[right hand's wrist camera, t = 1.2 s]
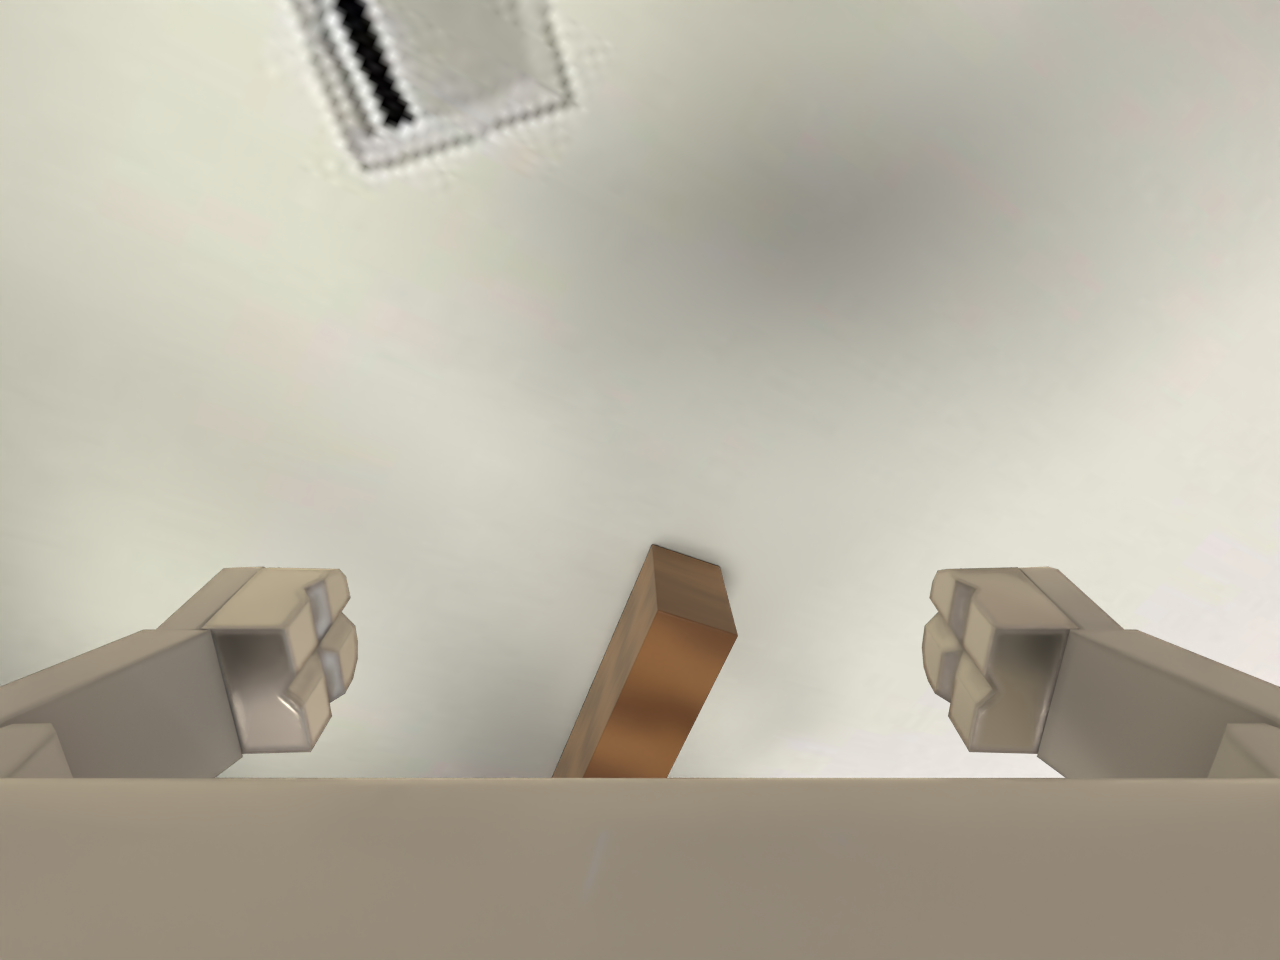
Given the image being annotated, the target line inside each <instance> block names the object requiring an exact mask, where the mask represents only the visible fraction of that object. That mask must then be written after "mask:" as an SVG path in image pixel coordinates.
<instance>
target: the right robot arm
mask: <svg viewBox="0 0 1280 960" xmlns="http://www.w3.org/2000/svg"><path fill="white" fill-rule="evenodd" d="M349 599H350V593H349V588H348V583H347V579H346V576H345V575H344V574H343V572H342V571H341V570H340V569H320V568H265V567H236V568H224V569H222V570H221V571H220V572H219V573H218V574H217V575H216V576H214V577H213V578H212V579H211V580H210V581H209V582H208V583H207V584H206V585H205V586H203V587H202V588H201V589H200V590H199V591H198V592H197V593H196V594H195V595H193V596H192V597H191V598H190V599H189V600H188V601H187V602H186V603H185V604H184V605H182V606H181V607H180V608H179V609H178V610H177V611H176V612H175V613H174V614H172V615H171V616H170V617H169V618H168V619H167V620H166V621H165V622H164V623H162V624H161V625H160V626H159V627H158V628H157V629H156V630H141V631H139V632H136V633H134V634H131V635H129V636H126V637H124V638H121V639H119V640H116V641H114V642H111V643H109V644H106V645H104V646H101V647H99V648H96V649H94V650H91V651H89V652H86V653H84V654H81V655H79V656H76V657H74V658H71V659H69V660H66V661H64V662H61V663H59V664H56V665H54V666H51V667H49V668H46V669H44V670H41V671H39V672H36V673H34V674H31V675H29V676H26V677H24V678H21V679H19V680H16V681H14V682H11V683H9V684H6V685H4V686H1V687H0V960H1280V687H1279V686H1276V685H1274V684H1271V683H1269V682H1266V681H1264V680H1261V679H1259V678H1256V677H1254V676H1251V675H1249V674H1246V673H1244V672H1241V671H1239V670H1236V669H1234V668H1231V667H1229V666H1226V665H1224V664H1221V663H1219V662H1216V661H1214V660H1211V659H1209V658H1206V657H1204V656H1201V655H1199V654H1196V653H1194V652H1191V651H1189V650H1186V649H1184V648H1181V647H1179V646H1176V645H1174V644H1171V643H1169V642H1166V641H1164V640H1161V639H1159V638H1156V637H1154V636H1151V635H1149V634H1146V633H1144V632H1141V631H1139V630H1124V629H1123V628H1122V627H1121V626H1120V625H1119V624H1118V623H1116V622H1115V621H1114V620H1113V619H1112V618H1111V617H1110V616H1109V615H1108V614H1107V613H1105V612H1104V611H1103V610H1102V609H1101V608H1100V607H1099V606H1098V605H1097V604H1096V603H1094V602H1093V601H1092V600H1091V599H1090V598H1089V597H1088V596H1087V595H1086V594H1085V593H1083V592H1082V591H1081V590H1080V589H1079V588H1078V587H1077V586H1076V585H1075V584H1073V583H1072V582H1071V581H1070V580H1069V579H1068V578H1067V577H1066V576H1065V575H1064V574H1062V573H1061V572H1060V571H1059V570H1058V569H1055V568H1051V567H1027V568H1018V567H1010V568H968V569H944V570H938V571H937V573H936V575H935V577H934V579H933V582H932V587H931V592H930V599H931V601H932V603H933V604H934V606H935V607H936V609H937V610H938V613H937V614H936V615H935V616H934V617H933V618H932V619H931V620H930V621H929V622H928V623H927V624H926V625H925V627H924V635H923V642H922V654H923V665H924V670H925V673H926V676H927V679H928V682H929V683H930V685H931V687H932V689H933V691H934V693H935V694H937V695H938V696H940V697H942V698H943V699H945V700H946V701H948V702H950V709H949V714H948V717H949V718H950V720H951V722H952V723H953V725H954V727H955V729H956V730H957V732H958V734H959V735H960V737H961V739H962V740H963V742H964V744H965V745H966V747H967V749H968V750H969V752H991V753H1028V754H1038V755H1037V757H1038V758H1040V759H1041V760H1042V761H1044V762H1045V763H1046V764H1048V765H1049V766H1050V767H1052V768H1053V769H1054V770H1056V771H1057V772H1059V773H1060V774H1061V775H1063V776H1064V777H1065V778H215V777H216V776H218V775H219V774H220V773H222V772H223V771H224V770H226V769H227V768H228V767H230V766H231V765H233V764H234V763H235V762H237V761H238V760H239V759H241V758H242V757H243V755H242V754H252V753H288V752H311V751H312V749H313V747H314V746H315V744H316V742H317V740H318V739H319V737H320V735H321V734H322V732H323V730H324V729H325V727H326V725H327V723H328V722H329V720H330V718H331V717H332V714H331V709H330V702H332V701H334V700H335V699H337V698H338V697H340V696H342V695H343V694H345V692H346V691H347V689H348V687H349V685H350V683H351V681H352V680H353V676H354V672H355V668H356V664H357V659H358V640H357V633H356V627H355V625H354V624H353V623H352V622H351V621H350V620H349V619H348V618H347V617H346V616H345V615H344V614H343V613H342V610H343V609H344V607H345V606H346V604H347V603H348V601H349Z"/></svg>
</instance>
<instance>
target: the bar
mask: <svg viewBox="0 0 1280 960" xmlns="http://www.w3.org/2000/svg"><path fill="white" fill-rule="evenodd" d="M737 636H738V634H737V631H736V627H735V623H734V619H733V615H732V612H731V608H730V604H729V600H728V596H727V592H726V589H725V585H724V581H723V577H722V573H721V569H720V567H719V566H716V565H713V564H710V563H707V562H704V561H701V560H698V559H695V558H692V557H689V556H686V555H683V554H680V553H677V552H674V551H671V550H668V549H665V548H662V547H659V546H656V545H652V546H651V548H650V550H649V553H648V555H647V557H646V560H645V562H644V564H643V567H642V569H641V571H640V574H639V576H638V578H637V581H636V583H635V585H634V588H633V590H632V592H631V595H630V597H629V599H628V602H627V604H626V606H625V609H624V611H623V613H622V616H621V618H620V620H619V623H618V625H617V627H616V630H615V632H614V634H613V637H612V639H611V641H610V644H609V646H608V648H607V651H606V653H605V655H604V658H603V660H602V662H601V665H600V667H599V669H598V672H597V674H596V676H595V679H594V681H593V683H592V686H591V688H590V690H589V693H588V695H587V697H586V700H585V702H584V704H583V707H582V709H581V711H580V714H579V716H578V718H577V721H576V723H575V725H574V728H573V730H572V732H571V735H570V737H569V739H568V742H567V744H566V746H565V748H564V751H563V753H562V755H561V758H560V760H559V762H558V765H557V767H556V769H555V772H554V774H553V776H552V778H667V776H668V774H669V772H670V770H671V768H672V766H673V764H674V762H675V760H676V758H677V756H678V754H679V752H680V750H681V748H682V746H683V744H684V742H685V740H686V738H687V736H688V734H689V732H690V730H691V728H692V726H693V724H694V722H695V720H696V718H697V716H698V714H699V712H700V710H701V708H702V706H703V704H704V702H705V700H706V698H707V696H708V694H709V692H710V690H711V688H712V686H713V684H714V682H715V680H716V678H717V676H718V674H719V672H720V670H721V668H722V666H723V664H724V662H725V660H726V658H727V656H728V654H729V652H730V650H731V648H732V646H733V644H734V642H735V640H736V638H737Z"/></svg>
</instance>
